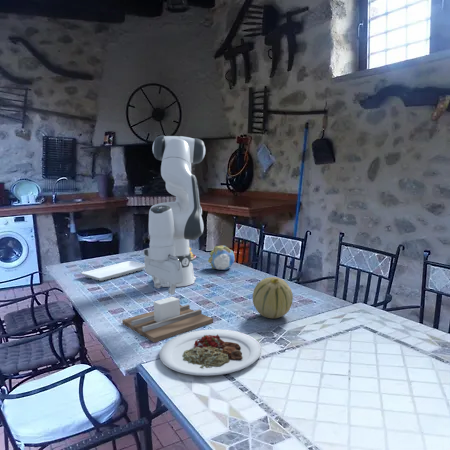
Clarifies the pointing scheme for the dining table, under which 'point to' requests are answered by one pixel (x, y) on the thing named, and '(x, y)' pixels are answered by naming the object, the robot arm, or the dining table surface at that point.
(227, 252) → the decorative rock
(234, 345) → the plated food
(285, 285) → the cantaloupe
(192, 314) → the rail panel
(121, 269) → the tray
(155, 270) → the robot arm
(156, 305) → the rail module
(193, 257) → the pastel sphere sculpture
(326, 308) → the dining table surface
